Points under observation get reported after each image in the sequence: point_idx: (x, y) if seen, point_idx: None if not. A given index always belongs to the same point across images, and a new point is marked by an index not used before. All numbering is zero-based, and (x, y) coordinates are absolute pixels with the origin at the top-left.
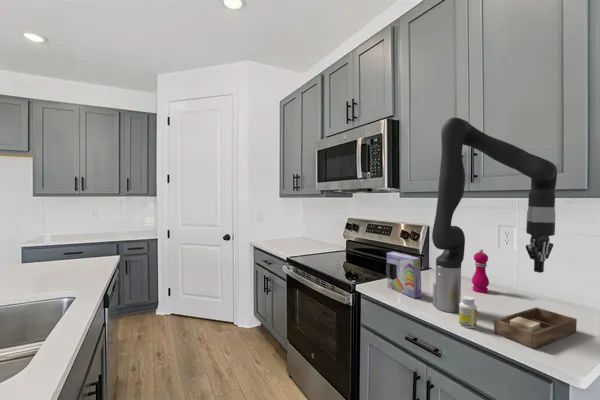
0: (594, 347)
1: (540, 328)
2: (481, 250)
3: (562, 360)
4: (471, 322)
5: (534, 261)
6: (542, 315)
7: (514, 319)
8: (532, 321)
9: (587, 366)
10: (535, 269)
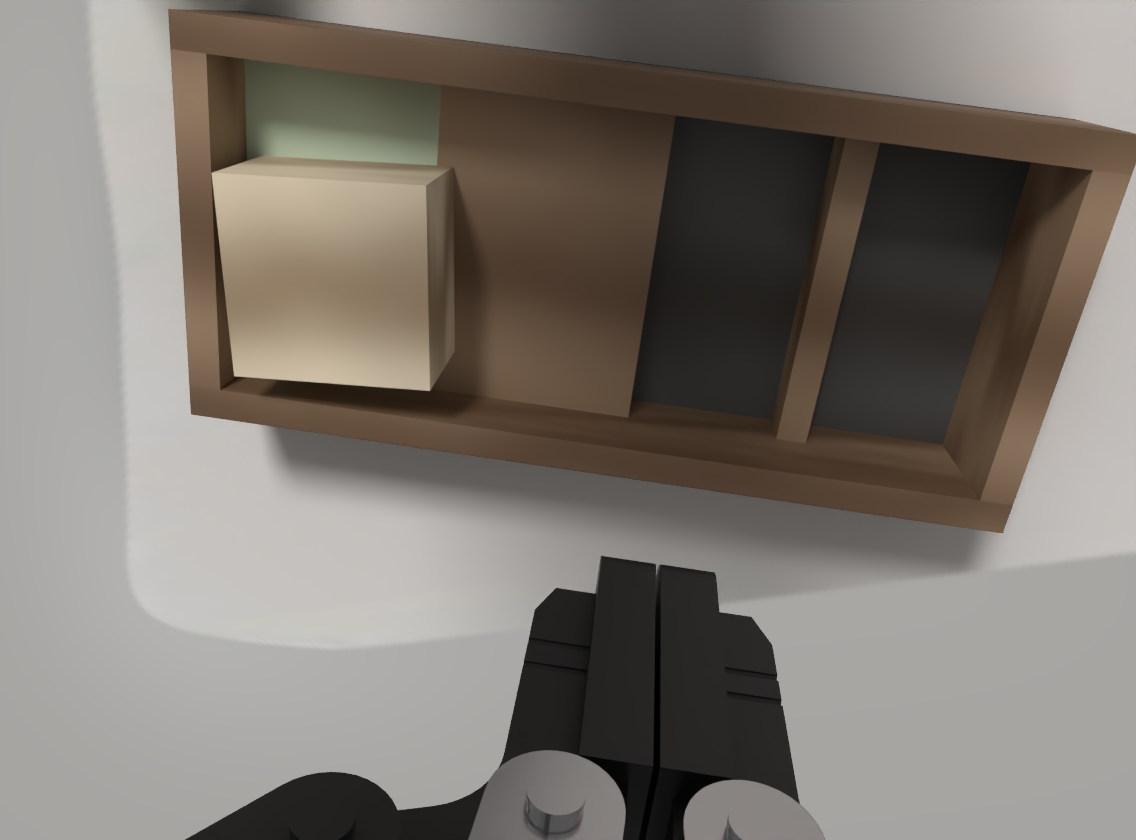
0: None
1: (615, 311)
2: None
3: (259, 522)
4: None
5: (584, 735)
6: (1043, 214)
7: (282, 195)
8: (405, 332)
9: (319, 625)
10: (543, 622)
